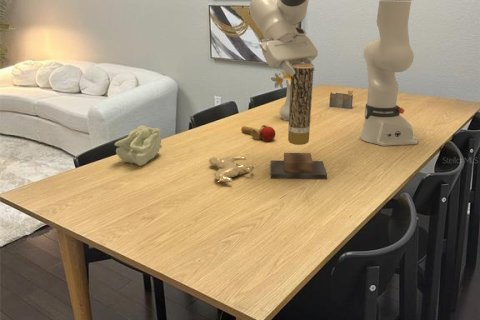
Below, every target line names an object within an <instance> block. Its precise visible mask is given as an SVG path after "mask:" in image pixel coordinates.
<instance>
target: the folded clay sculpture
mask: <svg viewBox="0 0 480 320" xmlns="http://www.w3.org/2000/svg"><path fill="white" fill-rule="evenodd" d="M161 132H162V131H161V129H160V128H157V127H154V128H152V127H148V126H145V125H144V124H142V125H139V126H138V127H137V128H135V129H132V130H130V131H129V133H128V135H127V136H126V137H125V138H122V139H119V140H118V141H116V142H115V143H114V146H116V149H115V153H116V155H117V156H118V158H119V159H120V160H121V161H122V162H123V163H130V164H135V165H137V166H139V167H142V166H145V165H146V164H147V163H148V162H149V161H150V160H152V159H153V158H154V157H156V156H157V155H158V152H160V149H161V148H162V147H163V146H162V138H161V137H162V136H161Z"/></svg>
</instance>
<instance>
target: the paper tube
mask: <svg viewBox="0 0 480 320" xmlns="http://www.w3.org/2000/svg"><path fill="white" fill-rule="evenodd" d="M290 66H291V67H292V68H295V69H296V71H297V74H296V75H295V76H291V83H290V106H289V120H288V128H287V129H288V131H287V132H288V135H287V136H288V137H287V140H288V141H287V142H288V143H290V144H292V145H295V146H296V145H297V146H303V145H307V144H308V143H309V141H310V130H311V117H312V116H311V115H312V114H311V112H312V100H313V99H312V98H313V97H312V96H313V85H314V84H313V82H314V71H315V70H314V69H315V67H314V63H312V64H308V63H304V62H303V63H295V64H291V65H290ZM313 70H314V71H313Z"/></svg>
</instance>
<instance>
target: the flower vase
mask: <svg viewBox="0 0 480 320" xmlns="http://www.w3.org/2000/svg"><path fill="white" fill-rule="evenodd" d="M274 76H275V77H274ZM274 76H273V77H270V79H271V81H272V82H275V83H274V88H275V89H277V88H280V89H283V88H284V85H283V82H284V81H285V83H286V98H285V102H284V104H283V106H282V107H281V108H280V109H279V115H280V116H281V117H282V120H283V121H289V106H290V83H291V75H290V74H289V72H287V71H286V70H284V69H283V70H280V72H279V73H277V72H275V73H274Z"/></svg>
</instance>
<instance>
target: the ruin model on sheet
mask: <svg viewBox="0 0 480 320" xmlns="http://www.w3.org/2000/svg"><path fill="white" fill-rule="evenodd" d="M353 93H354V90H348V92H347V93H341V92H335V93H333V92H330V93H329V108H338V109H346V110H351V109H352V108H353V99H354V94H353Z"/></svg>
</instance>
